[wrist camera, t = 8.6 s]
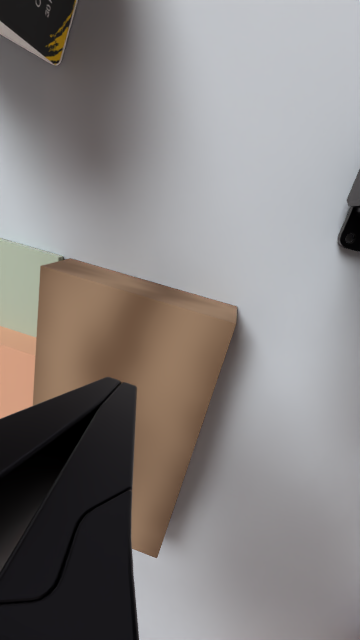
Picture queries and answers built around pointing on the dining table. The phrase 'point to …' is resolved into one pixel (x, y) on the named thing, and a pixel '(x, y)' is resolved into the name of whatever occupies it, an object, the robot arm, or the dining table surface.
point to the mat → (21, 285)
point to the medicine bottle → (38, 25)
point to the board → (135, 369)
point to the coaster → (16, 371)
